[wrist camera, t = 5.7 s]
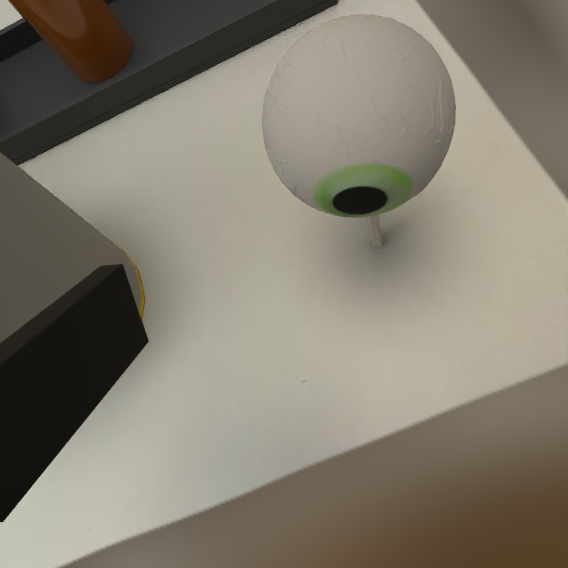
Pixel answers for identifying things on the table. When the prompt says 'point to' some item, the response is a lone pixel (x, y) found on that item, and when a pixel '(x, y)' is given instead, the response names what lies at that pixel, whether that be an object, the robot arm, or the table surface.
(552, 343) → the table surface
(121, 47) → the bottle mid
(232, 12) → the tray
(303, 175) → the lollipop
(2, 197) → the soap bottle
